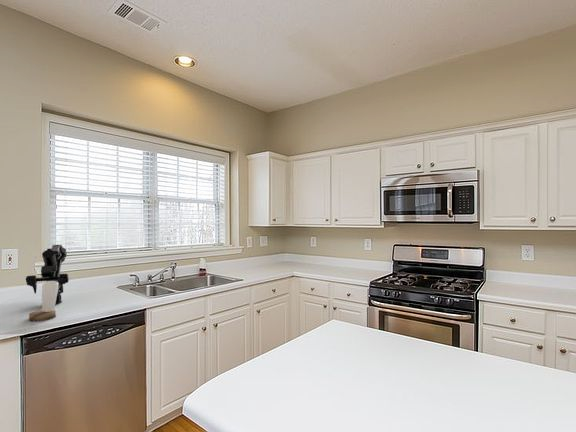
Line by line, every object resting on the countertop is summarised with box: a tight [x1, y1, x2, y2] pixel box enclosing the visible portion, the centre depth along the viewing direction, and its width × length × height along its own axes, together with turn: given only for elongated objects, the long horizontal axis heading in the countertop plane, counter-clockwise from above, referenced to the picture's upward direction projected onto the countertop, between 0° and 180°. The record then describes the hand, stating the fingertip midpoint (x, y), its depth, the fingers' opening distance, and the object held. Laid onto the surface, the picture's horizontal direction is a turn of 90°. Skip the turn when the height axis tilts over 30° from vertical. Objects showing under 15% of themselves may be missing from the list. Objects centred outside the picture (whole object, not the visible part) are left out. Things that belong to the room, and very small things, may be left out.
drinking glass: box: [41, 281, 58, 312], centre depth 170 cm, size 7×7×15 cm
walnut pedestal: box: [28, 309, 57, 323], centre depth 169 cm, size 11×11×3 cm
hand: (45, 292), depth 175 cm, fingers open, 9 cm apart
